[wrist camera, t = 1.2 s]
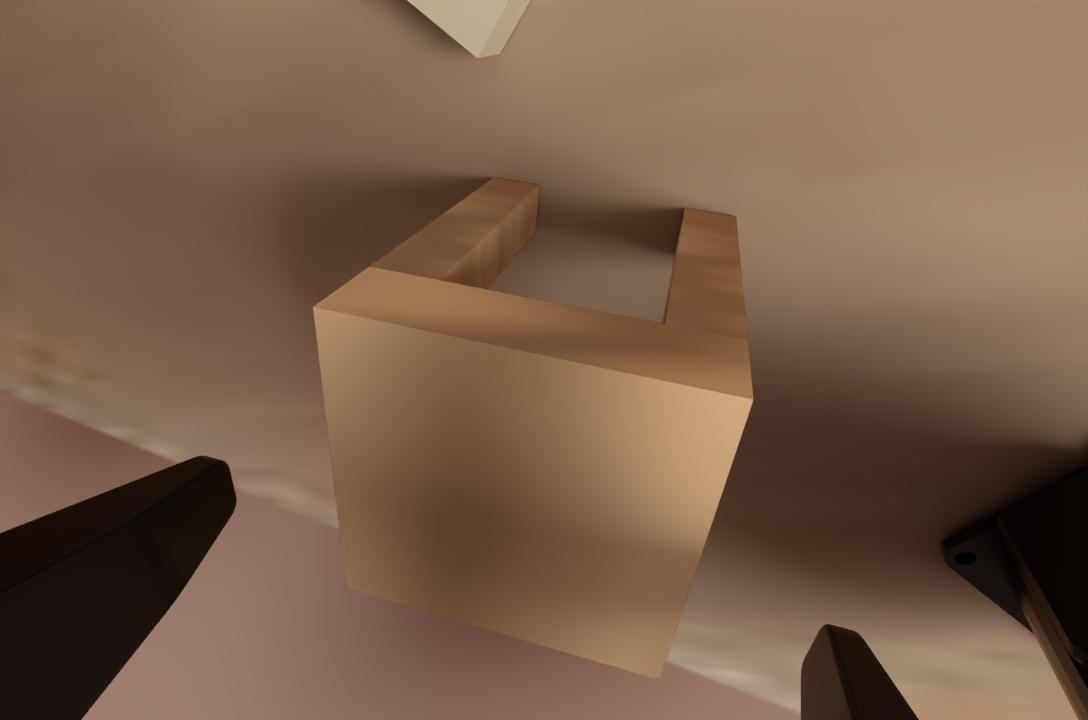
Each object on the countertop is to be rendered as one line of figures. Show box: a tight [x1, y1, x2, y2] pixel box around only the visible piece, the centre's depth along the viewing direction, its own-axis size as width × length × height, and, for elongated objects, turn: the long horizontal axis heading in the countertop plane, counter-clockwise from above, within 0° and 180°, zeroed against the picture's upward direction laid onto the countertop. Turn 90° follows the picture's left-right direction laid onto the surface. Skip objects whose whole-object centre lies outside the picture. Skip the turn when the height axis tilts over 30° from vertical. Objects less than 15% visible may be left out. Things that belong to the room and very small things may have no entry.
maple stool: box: [313, 178, 754, 680], centre depth 13 cm, size 6×6×8 cm
